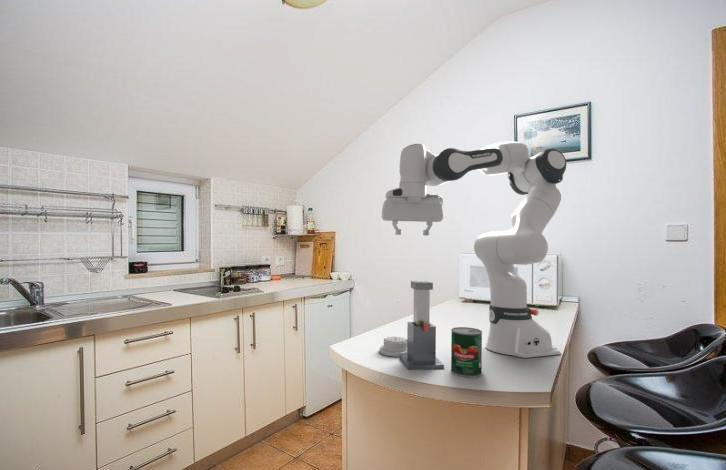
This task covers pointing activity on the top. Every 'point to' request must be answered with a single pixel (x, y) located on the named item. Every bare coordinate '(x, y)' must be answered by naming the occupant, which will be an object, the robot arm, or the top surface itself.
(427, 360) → the grey hollow housing
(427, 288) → the column
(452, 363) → the canned tomato
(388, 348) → the mechanical component
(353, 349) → the top surface
